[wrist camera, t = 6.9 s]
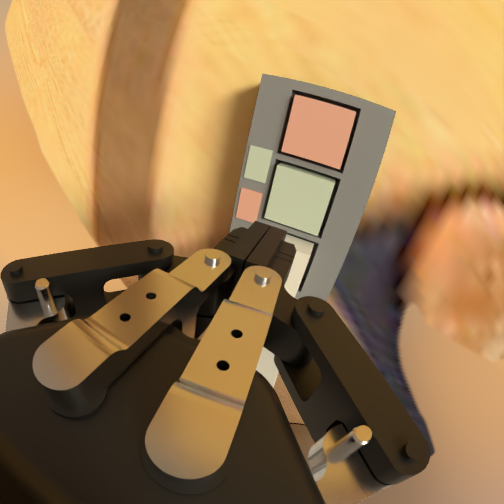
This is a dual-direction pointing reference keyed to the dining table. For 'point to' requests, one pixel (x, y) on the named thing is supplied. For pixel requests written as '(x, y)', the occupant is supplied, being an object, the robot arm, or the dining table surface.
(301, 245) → the key ivory
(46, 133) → the dining table surface
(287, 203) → the key sage
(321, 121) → the key coral
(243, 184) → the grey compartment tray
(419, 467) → the robot arm
